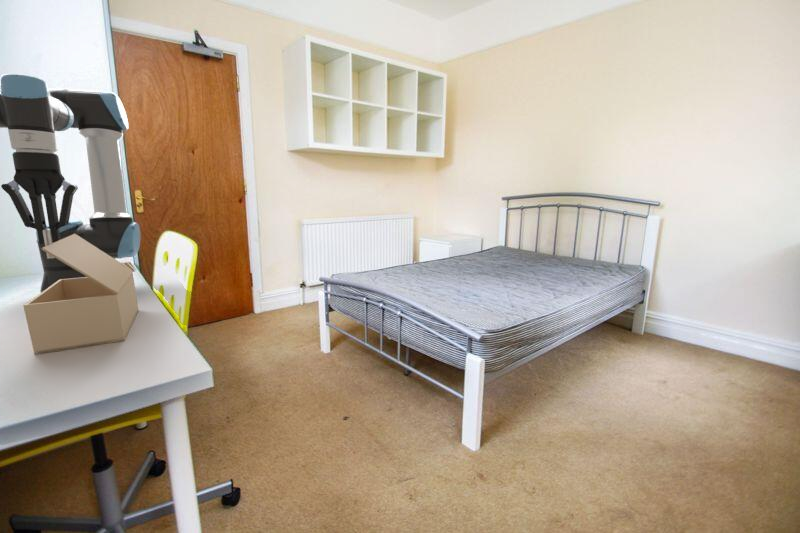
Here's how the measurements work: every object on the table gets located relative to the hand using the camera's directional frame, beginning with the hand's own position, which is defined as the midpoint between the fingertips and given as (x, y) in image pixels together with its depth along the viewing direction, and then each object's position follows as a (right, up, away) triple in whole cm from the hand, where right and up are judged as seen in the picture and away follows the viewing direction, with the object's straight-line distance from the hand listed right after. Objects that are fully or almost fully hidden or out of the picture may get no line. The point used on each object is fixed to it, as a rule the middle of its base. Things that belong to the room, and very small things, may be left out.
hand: (52, 257), depth 91 cm
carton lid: (+7, -1, +4) cm, 8 cm away
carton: (+5, -18, +6) cm, 19 cm away
